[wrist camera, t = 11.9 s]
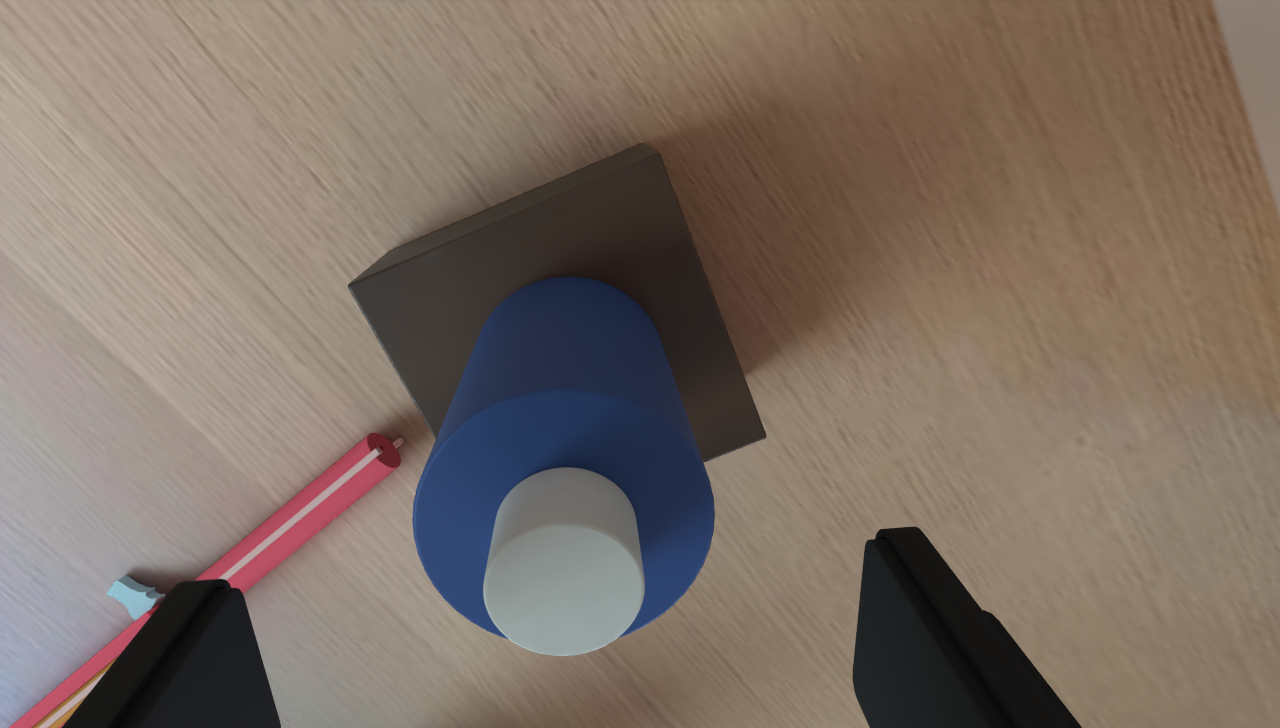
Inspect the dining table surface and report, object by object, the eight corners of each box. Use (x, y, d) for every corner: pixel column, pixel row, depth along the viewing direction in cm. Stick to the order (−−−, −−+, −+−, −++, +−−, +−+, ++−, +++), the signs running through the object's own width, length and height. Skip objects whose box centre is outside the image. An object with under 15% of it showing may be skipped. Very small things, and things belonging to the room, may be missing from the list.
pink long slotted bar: (-24, 709, 32) (41, 791, 32) (-76, 738, 30) (-6, 826, 30) (358, 383, 28) (433, 476, 28) (329, 391, 26) (409, 491, 26)
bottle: (462, 281, 22) (358, 449, 11) (662, 270, 22) (738, 424, 12) (484, 460, 24) (413, 740, 13) (666, 447, 24) (734, 709, 14)
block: (387, 251, 26) (345, 285, 21) (644, 141, 25) (659, 151, 21) (508, 475, 29) (495, 546, 25) (736, 383, 29) (767, 438, 24)
